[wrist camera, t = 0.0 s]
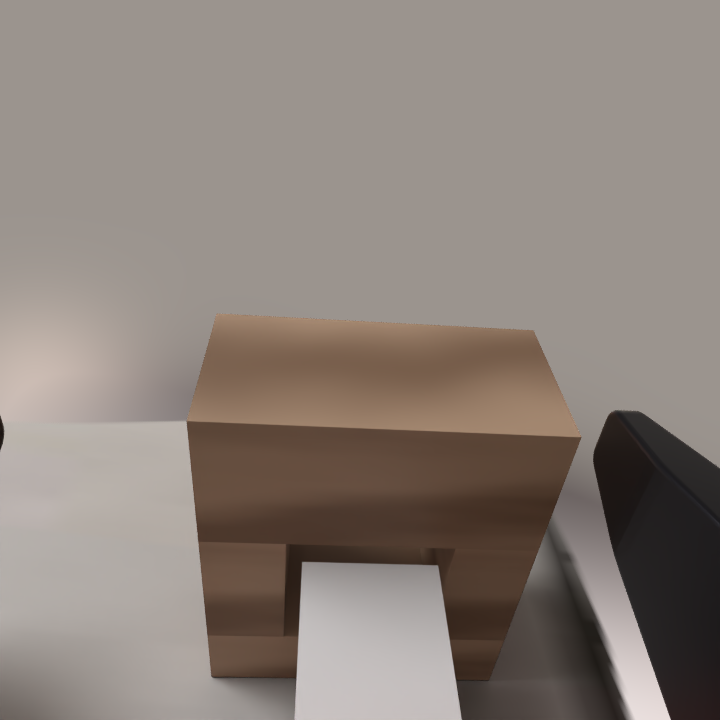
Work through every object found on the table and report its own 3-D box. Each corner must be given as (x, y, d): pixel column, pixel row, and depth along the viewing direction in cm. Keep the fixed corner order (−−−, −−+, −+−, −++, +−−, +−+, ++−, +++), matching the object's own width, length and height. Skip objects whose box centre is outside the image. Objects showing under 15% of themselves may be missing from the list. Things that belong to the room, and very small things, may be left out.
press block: (489, 680, 24) (581, 437, 17) (211, 676, 23) (186, 421, 16) (466, 564, 28) (533, 330, 21) (230, 558, 27) (216, 313, 20)
